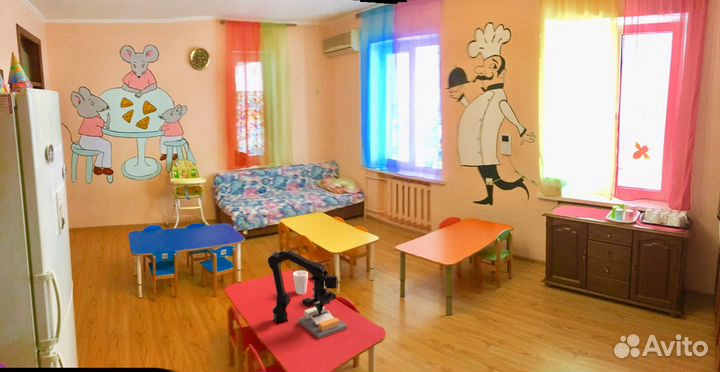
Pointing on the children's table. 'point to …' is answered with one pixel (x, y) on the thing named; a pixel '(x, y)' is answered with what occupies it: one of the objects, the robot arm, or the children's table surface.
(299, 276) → the foam cup
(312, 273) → the robot arm
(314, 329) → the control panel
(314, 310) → the cream key
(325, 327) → the orange key
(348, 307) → the children's table surface
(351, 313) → the children's table surface
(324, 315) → the cream plate with stripe
